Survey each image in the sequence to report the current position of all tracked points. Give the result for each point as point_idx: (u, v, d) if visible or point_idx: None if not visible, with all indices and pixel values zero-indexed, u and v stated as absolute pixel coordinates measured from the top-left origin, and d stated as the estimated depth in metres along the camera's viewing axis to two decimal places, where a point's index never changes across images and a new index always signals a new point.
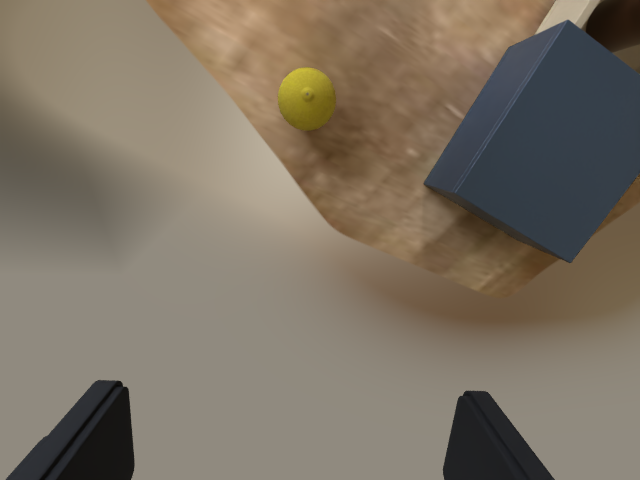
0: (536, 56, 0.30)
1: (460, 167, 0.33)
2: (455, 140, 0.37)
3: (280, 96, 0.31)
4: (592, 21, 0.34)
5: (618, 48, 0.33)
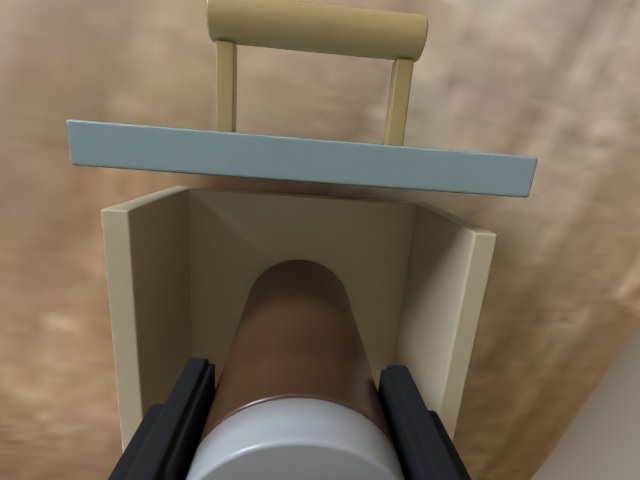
0: None
1: None
2: None
3: None
4: None
5: None
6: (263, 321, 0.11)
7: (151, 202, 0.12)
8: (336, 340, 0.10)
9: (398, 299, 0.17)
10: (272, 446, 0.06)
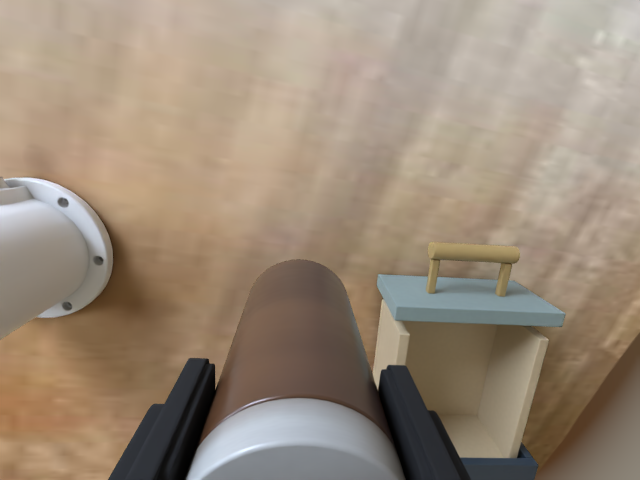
0: None
1: None
2: None
3: None
4: None
5: None
6: (263, 321, 0.11)
7: (403, 324, 0.28)
8: (337, 340, 0.10)
9: (488, 352, 0.33)
10: (272, 446, 0.06)
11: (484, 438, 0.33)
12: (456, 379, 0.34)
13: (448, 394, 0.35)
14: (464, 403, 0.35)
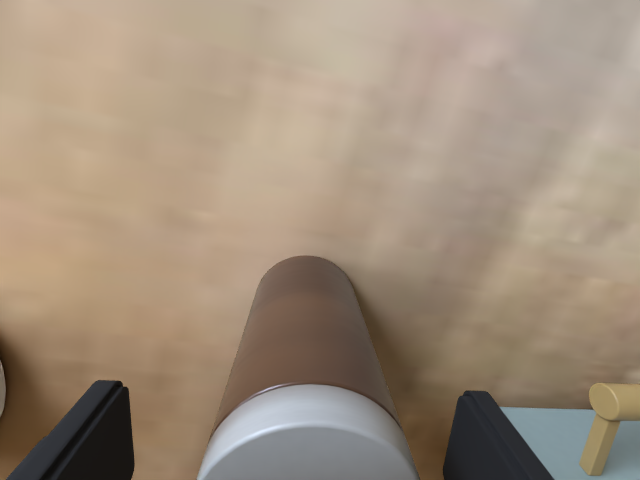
0: None
1: None
2: None
3: None
4: None
5: None
6: (274, 313, 0.11)
7: None
8: (345, 332, 0.10)
9: None
10: (288, 428, 0.07)
11: None
12: None
13: None
14: None
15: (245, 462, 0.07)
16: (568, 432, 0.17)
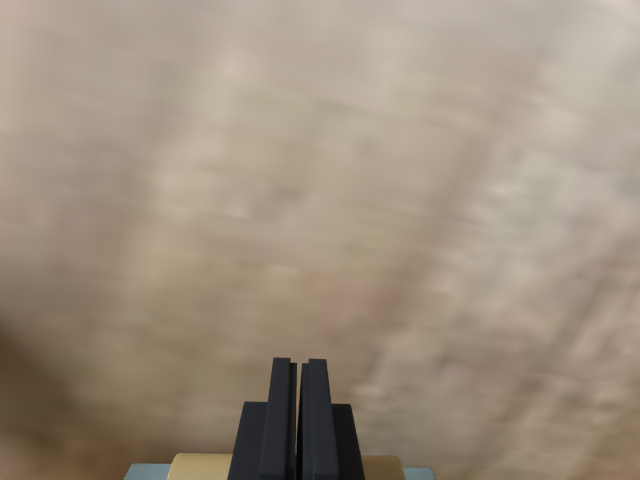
0: None
1: None
2: None
3: None
4: None
5: None
6: None
7: None
8: None
9: None
10: None
11: None
12: None
13: None
14: None
15: None
16: None
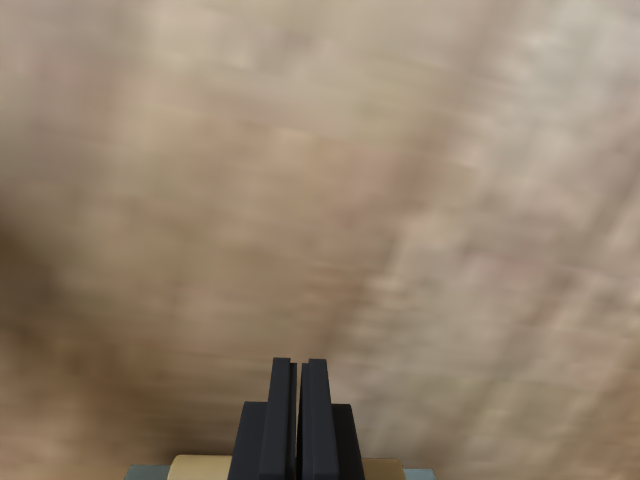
0: None
1: None
2: None
3: None
4: None
5: None
6: None
7: None
8: None
9: None
10: None
11: None
12: None
13: None
14: None
15: None
16: None
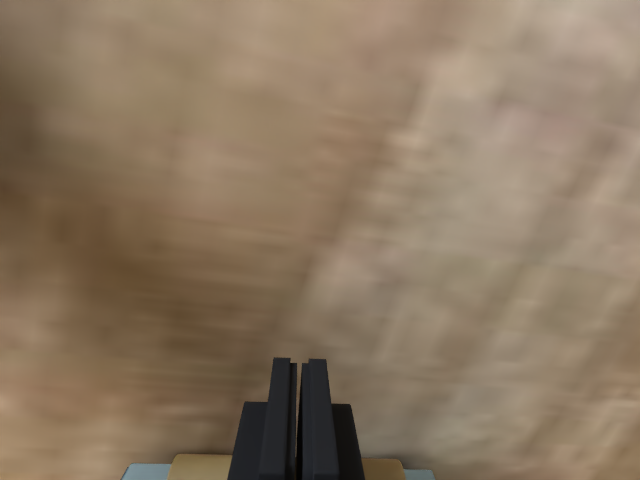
0: None
1: None
2: None
3: None
4: None
5: None
6: None
7: None
8: None
9: None
10: None
11: None
12: None
13: None
14: None
15: None
16: None
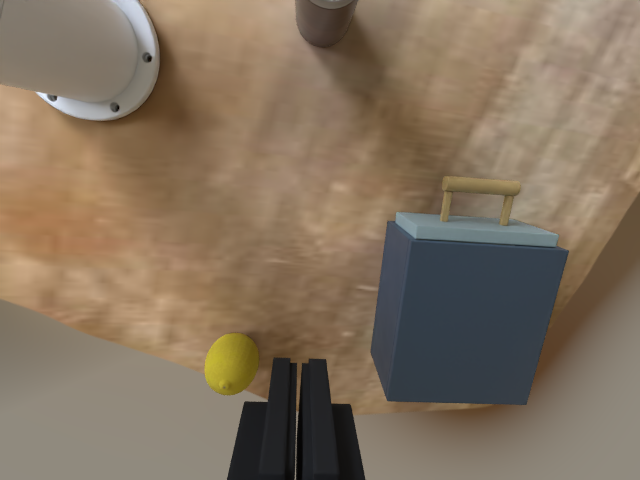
0: (402, 268, 0.31)
1: (385, 366, 0.35)
2: (378, 317, 0.39)
3: (207, 381, 0.35)
4: (297, 24, 0.31)
5: (332, 39, 0.31)
6: None
7: None
8: None
9: None
10: None
11: None
12: None
13: None
14: None
15: None
16: None
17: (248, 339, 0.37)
